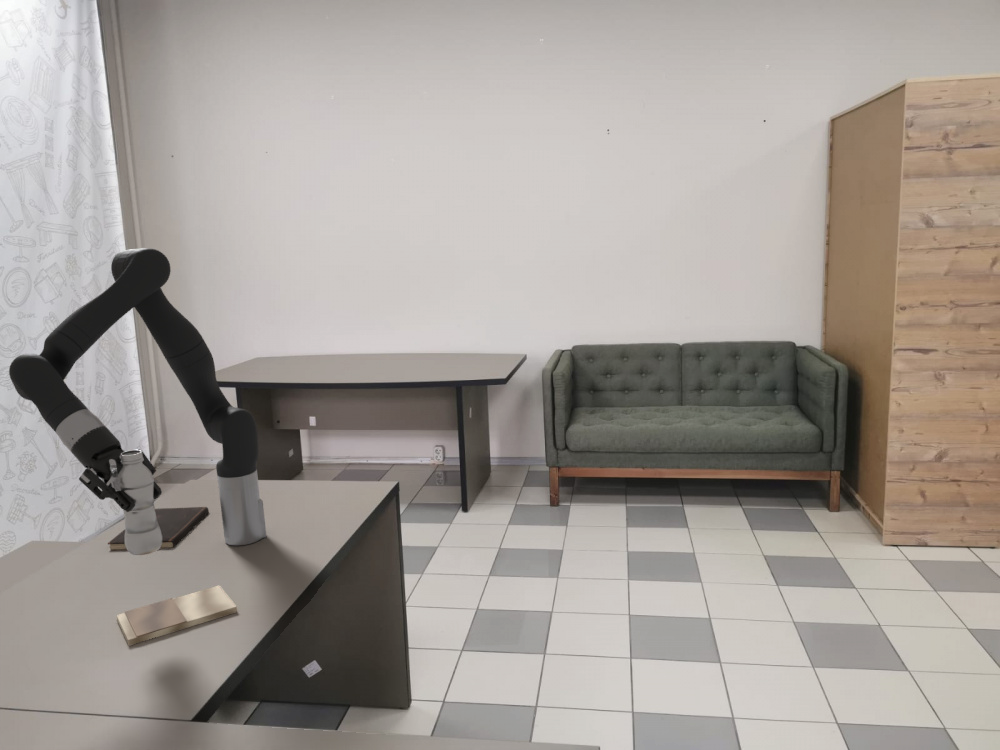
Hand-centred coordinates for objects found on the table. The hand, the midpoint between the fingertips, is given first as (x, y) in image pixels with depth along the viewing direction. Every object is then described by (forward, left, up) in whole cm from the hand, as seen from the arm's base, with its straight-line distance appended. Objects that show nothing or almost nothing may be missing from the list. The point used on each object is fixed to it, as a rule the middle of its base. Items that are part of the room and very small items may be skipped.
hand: (145, 502), depth 148 cm
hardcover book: (-11, -52, -26) cm, 59 cm away
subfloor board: (-3, -1, -25) cm, 25 cm away
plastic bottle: (+1, -1, -11) cm, 11 cm away
